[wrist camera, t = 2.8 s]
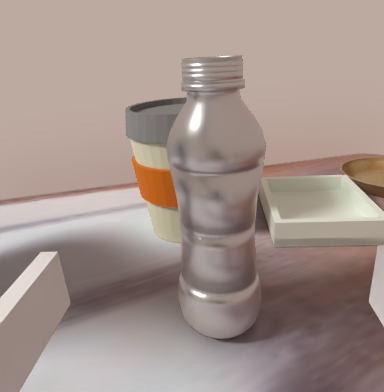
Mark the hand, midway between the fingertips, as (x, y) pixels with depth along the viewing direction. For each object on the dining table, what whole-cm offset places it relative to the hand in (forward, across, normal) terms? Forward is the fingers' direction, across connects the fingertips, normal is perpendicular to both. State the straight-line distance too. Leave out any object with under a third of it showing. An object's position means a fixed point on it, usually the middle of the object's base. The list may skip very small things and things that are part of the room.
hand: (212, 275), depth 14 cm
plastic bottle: (+10, 0, -12) cm, 16 cm away
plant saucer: (+38, +26, -12) cm, 48 cm away
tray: (+28, +12, -12) cm, 33 cm away
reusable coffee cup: (+27, -4, -12) cm, 30 cm away
